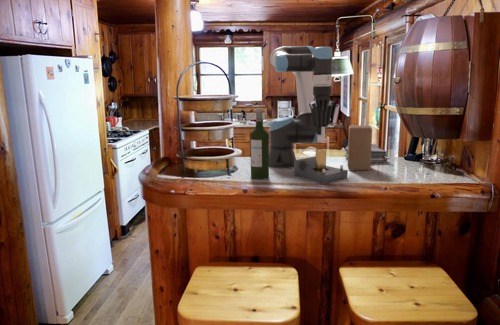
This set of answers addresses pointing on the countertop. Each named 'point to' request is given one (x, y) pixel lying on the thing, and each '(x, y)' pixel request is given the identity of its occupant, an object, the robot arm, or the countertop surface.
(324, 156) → the brass cylinder
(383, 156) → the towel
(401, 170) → the countertop surface
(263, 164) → the wine bottle
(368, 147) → the wooden block
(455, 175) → the countertop surface
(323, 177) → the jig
